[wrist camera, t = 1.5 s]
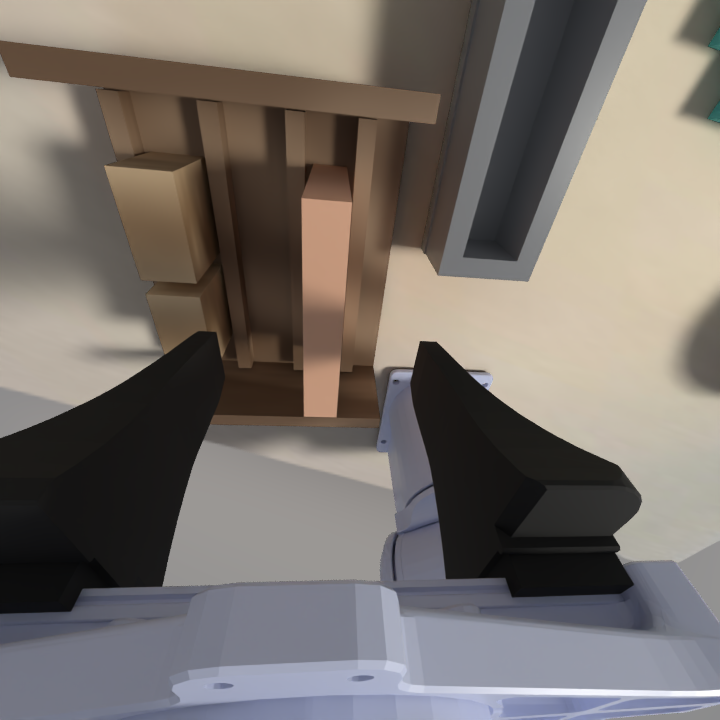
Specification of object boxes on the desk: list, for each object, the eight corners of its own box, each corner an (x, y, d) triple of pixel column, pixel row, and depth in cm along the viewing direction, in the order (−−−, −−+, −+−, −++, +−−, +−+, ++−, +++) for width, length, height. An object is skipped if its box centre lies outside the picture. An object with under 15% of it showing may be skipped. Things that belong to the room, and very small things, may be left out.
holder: (501, 254, 21) (530, 281, 18) (421, 248, 20) (436, 275, 17) (638, -131, 12) (738, -207, 9) (504, -158, 12) (562, -247, 9)
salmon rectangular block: (336, 338, 22) (336, 417, 17) (312, 337, 22) (303, 416, 17) (346, 166, 16) (352, 202, 11) (313, 163, 16) (301, 197, 11)
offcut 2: (233, 331, 22) (215, 371, 19) (194, 329, 21) (169, 370, 18) (222, 264, 19) (199, 297, 16) (177, 261, 19) (145, 294, 16)
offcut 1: (220, 251, 19) (196, 283, 15) (174, 248, 18) (140, 280, 15) (205, 156, 16) (172, 172, 13) (151, 151, 16) (103, 165, 12)
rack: (370, 365, 25) (378, 427, 21) (188, 358, 24) (152, 423, 19) (409, 95, 16) (441, 94, 11) (108, 59, 14) (-5, 40, 10)
